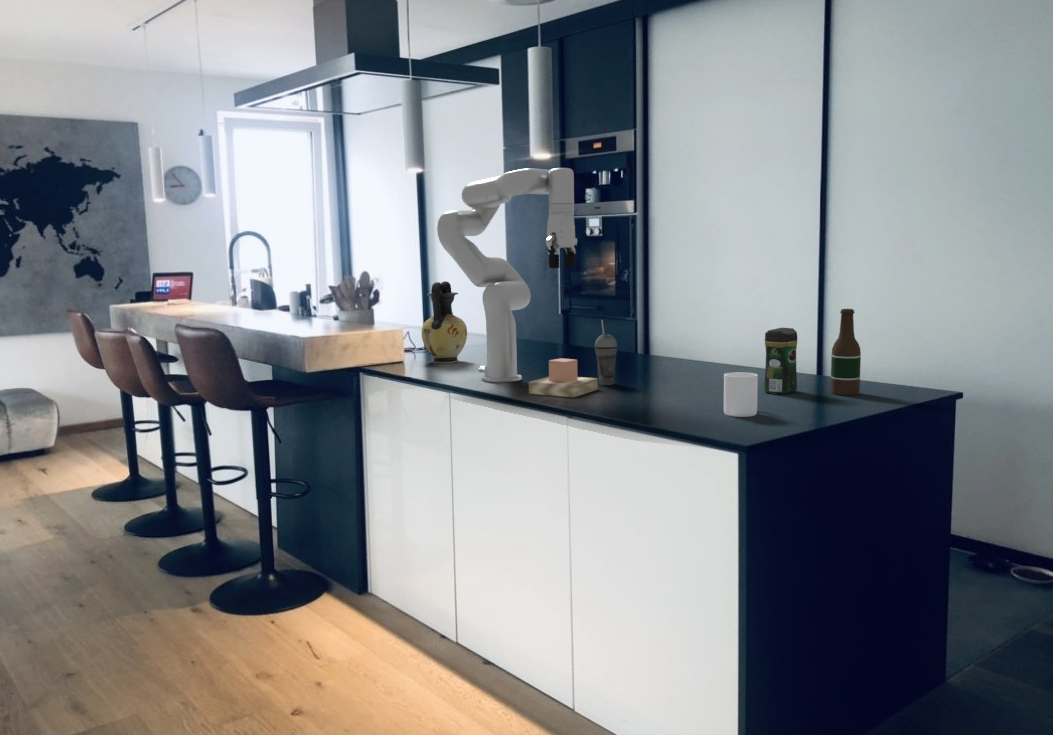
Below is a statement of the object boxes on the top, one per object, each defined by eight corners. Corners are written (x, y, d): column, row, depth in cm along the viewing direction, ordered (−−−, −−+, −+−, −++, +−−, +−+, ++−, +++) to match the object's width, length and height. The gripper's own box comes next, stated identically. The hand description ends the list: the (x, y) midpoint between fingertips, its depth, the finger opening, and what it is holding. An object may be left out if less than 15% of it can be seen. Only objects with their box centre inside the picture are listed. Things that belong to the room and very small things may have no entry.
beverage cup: (616, 385, 283) (616, 320, 280) (593, 385, 284) (592, 320, 282) (619, 382, 290) (618, 318, 287) (596, 381, 292) (595, 318, 289)
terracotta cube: (549, 380, 274) (548, 360, 273) (561, 378, 278) (561, 358, 278) (564, 382, 270) (564, 362, 269) (577, 379, 274) (577, 359, 274)
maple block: (528, 395, 272) (528, 381, 272) (554, 388, 285) (554, 375, 285) (573, 399, 265) (573, 385, 264) (597, 391, 277) (597, 378, 277)
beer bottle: (859, 391, 264) (862, 308, 261) (859, 396, 257) (862, 310, 254) (830, 390, 267) (833, 307, 264) (830, 395, 260) (832, 310, 256)
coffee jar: (776, 388, 273) (777, 325, 270) (800, 391, 267) (802, 327, 265) (759, 392, 266) (760, 328, 263) (784, 395, 261) (785, 330, 258)
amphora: (427, 359, 355) (425, 280, 351) (471, 358, 354) (469, 280, 350) (418, 365, 338) (415, 283, 334) (463, 365, 336) (461, 282, 332)
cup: (718, 415, 235) (718, 375, 233) (737, 407, 244) (738, 369, 243) (748, 418, 230) (749, 377, 228) (767, 410, 239) (768, 371, 238)
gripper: (564, 211, 287) (565, 266, 289) (535, 210, 272) (536, 268, 275) (586, 210, 283) (586, 266, 285) (558, 209, 268) (558, 268, 271)
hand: (562, 267), depth 280 cm, fingers open, 9 cm apart
